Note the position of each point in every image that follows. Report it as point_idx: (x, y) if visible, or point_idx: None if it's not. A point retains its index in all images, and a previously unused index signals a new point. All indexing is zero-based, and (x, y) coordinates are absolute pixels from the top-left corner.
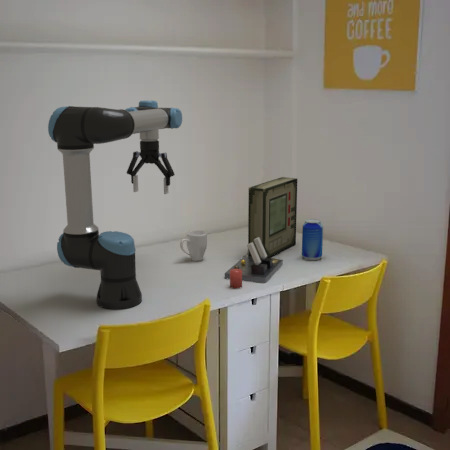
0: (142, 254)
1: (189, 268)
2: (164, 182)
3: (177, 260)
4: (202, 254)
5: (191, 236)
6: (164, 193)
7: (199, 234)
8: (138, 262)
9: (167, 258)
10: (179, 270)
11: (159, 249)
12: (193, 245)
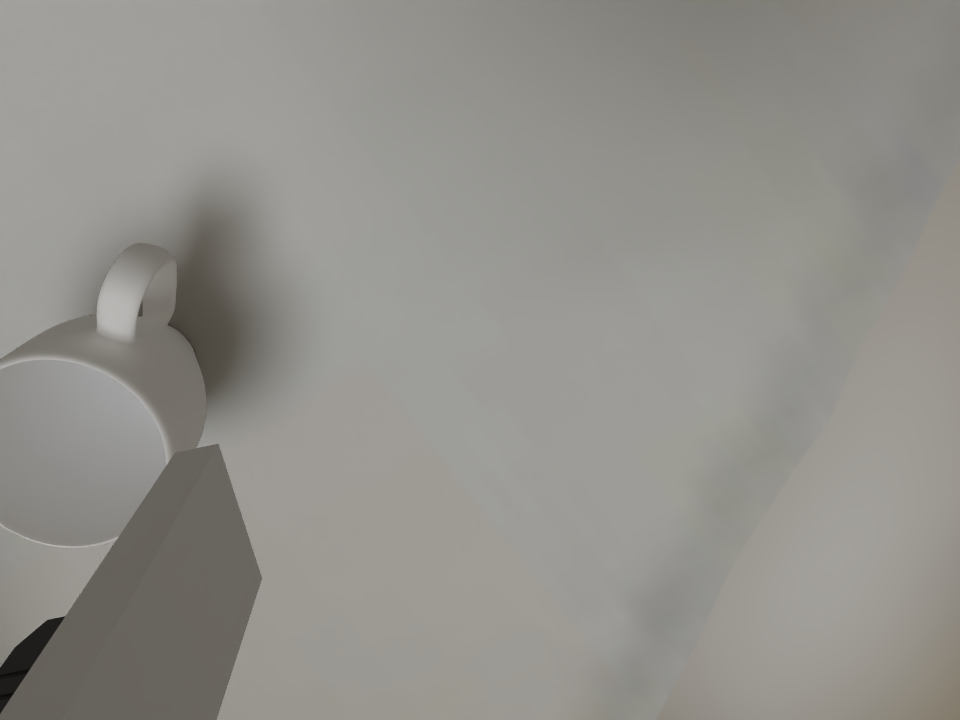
0: (627, 254)
1: (39, 130)
2: (90, 622)
3: (274, 264)
4: (67, 369)
5: (45, 349)
6: (200, 453)
7: (116, 519)
8: (521, 45)
9: (379, 268)
10: (69, 35)
11: (586, 432)
12: (62, 324)
